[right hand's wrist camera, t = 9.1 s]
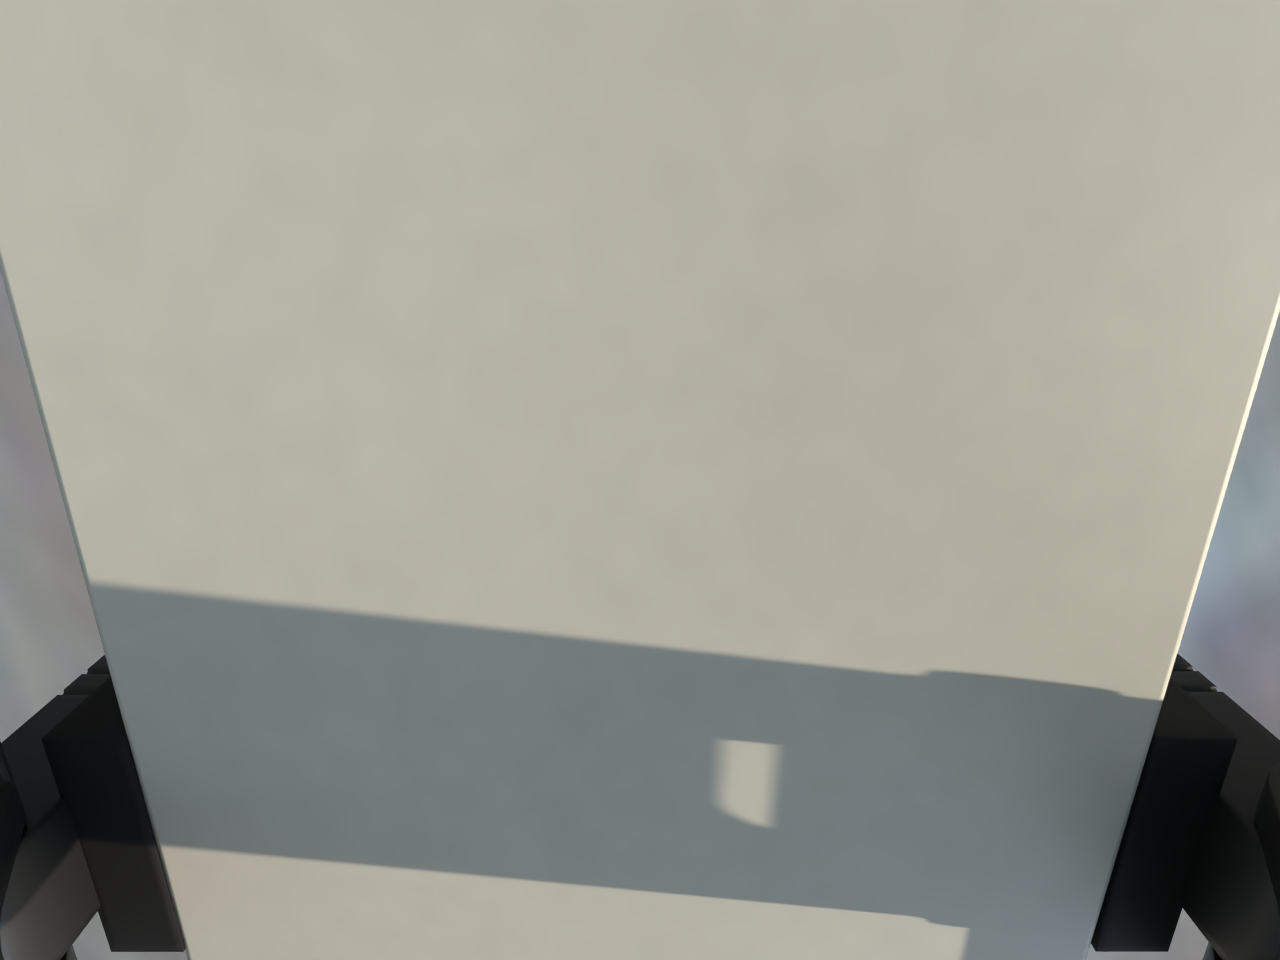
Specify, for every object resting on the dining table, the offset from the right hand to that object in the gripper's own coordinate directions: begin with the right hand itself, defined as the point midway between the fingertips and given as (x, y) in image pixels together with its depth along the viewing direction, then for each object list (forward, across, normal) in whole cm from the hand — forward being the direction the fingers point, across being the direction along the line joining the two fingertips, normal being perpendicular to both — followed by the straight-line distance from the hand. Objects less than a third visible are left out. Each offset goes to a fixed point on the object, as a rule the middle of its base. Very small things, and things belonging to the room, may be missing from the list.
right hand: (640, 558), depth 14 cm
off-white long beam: (+1, 0, -25) cm, 25 cm away
